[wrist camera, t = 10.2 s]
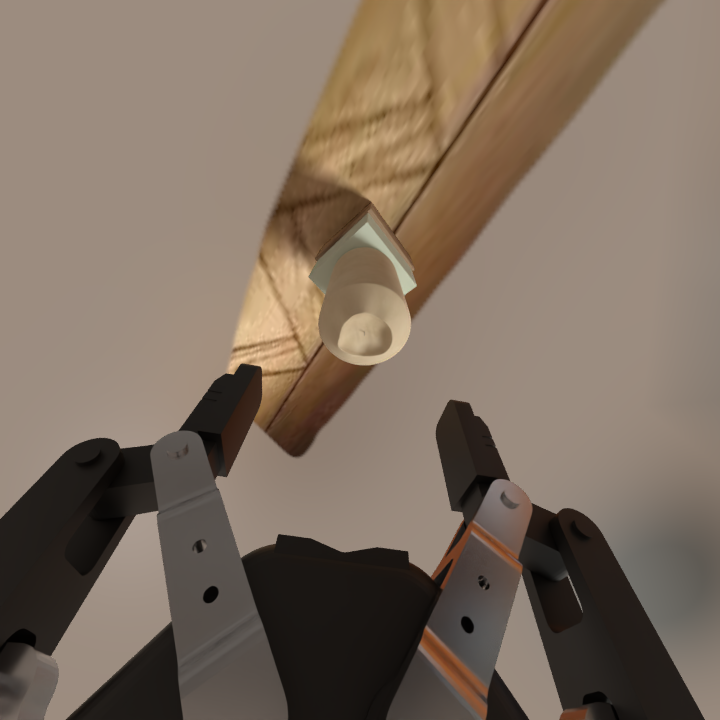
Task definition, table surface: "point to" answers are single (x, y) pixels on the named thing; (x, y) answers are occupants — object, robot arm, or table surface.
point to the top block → (357, 237)
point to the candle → (364, 309)
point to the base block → (383, 227)
